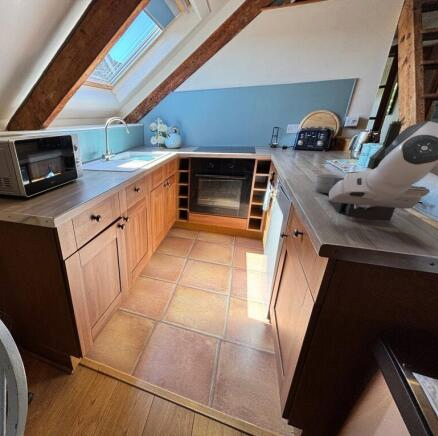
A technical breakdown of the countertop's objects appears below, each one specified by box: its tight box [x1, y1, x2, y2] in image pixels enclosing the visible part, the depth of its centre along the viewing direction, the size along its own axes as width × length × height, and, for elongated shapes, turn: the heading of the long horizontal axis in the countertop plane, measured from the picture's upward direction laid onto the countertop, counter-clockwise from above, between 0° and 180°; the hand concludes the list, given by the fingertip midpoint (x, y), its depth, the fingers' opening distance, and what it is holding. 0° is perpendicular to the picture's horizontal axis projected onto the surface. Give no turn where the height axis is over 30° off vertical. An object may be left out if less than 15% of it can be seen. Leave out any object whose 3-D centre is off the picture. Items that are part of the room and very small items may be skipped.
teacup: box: [314, 173, 345, 195], centre depth 108 cm, size 14×11×8 cm
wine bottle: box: [365, 120, 403, 171], centre depth 96 cm, size 8×8×30 cm
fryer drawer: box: [343, 203, 396, 222], centre depth 83 cm, size 15×11×8 cm
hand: (359, 207), depth 79 cm, fingers closed, pressing on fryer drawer
